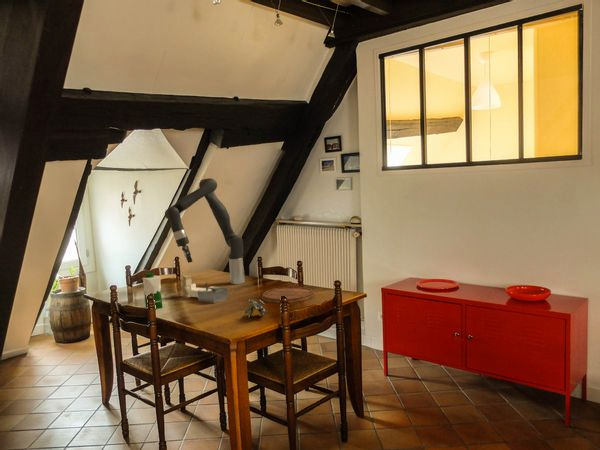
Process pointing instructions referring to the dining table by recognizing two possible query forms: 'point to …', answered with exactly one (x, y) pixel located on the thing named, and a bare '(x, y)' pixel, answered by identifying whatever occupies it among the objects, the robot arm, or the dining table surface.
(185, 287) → the beech block
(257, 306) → the passion flower
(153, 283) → the milk carton
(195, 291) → the gauge plunger
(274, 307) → the dining table surface
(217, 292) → the gauge housing
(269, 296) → the cutting board
